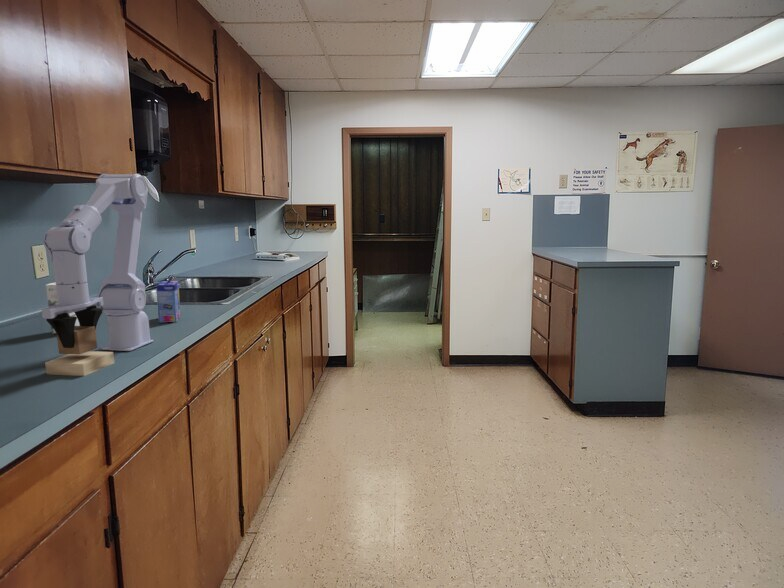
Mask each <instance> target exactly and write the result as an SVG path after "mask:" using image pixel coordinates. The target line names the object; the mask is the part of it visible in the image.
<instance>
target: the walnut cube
mask: <svg viewBox="0 0 784 588" xmlns="http://www.w3.org/2000/svg"><path fill="white" fill-rule="evenodd" d="M56 340H57V347H58V353H59V354H61V355H67V354H82V353H85V352H88V351H94V350H96V349H98V343H97V342H98V340H97V333H96V330H95V326H75V327H74V347H73V348H63V346H62V343H61V341H60V339H59V337H58V335H57V334H56Z"/></svg>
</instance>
